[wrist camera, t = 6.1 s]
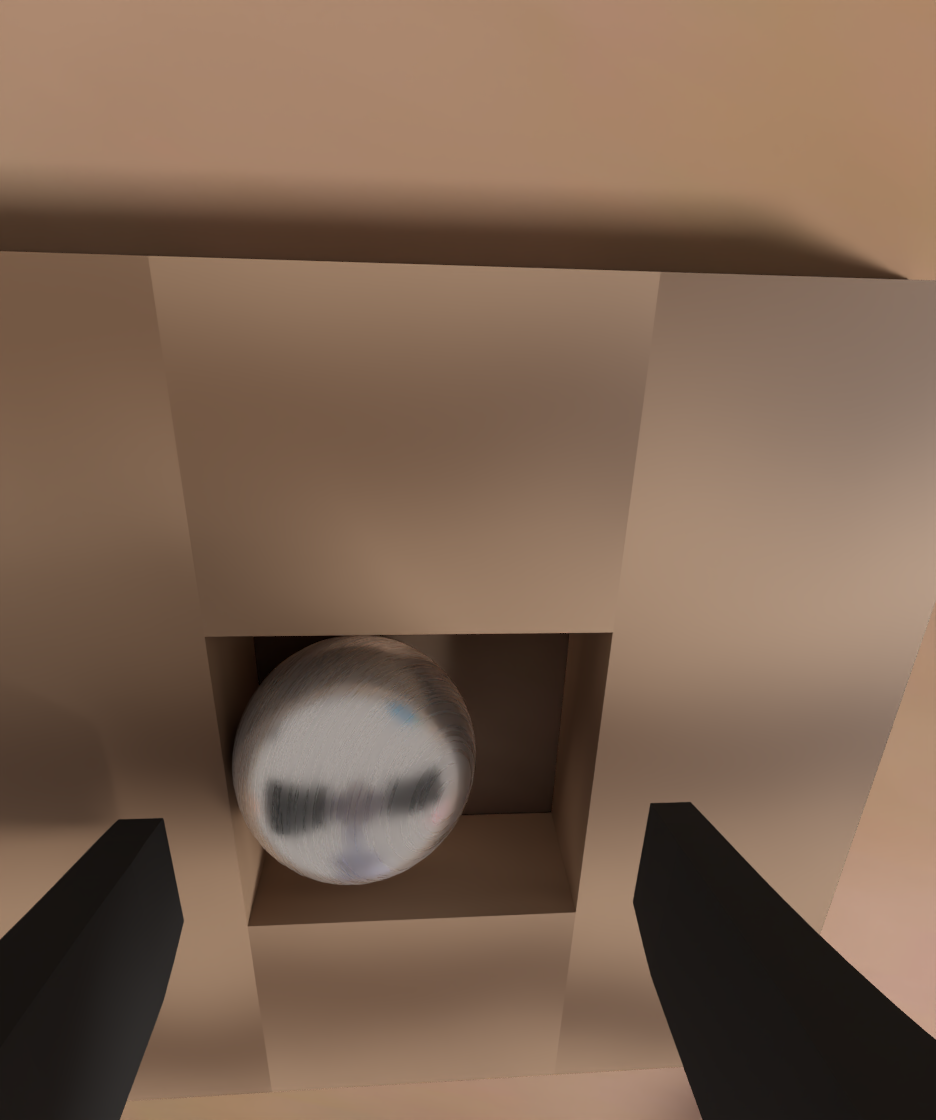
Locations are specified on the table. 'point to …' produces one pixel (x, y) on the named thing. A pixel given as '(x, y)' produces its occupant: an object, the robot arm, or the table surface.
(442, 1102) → the table surface
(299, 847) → the steel ball
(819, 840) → the wooden square frame
